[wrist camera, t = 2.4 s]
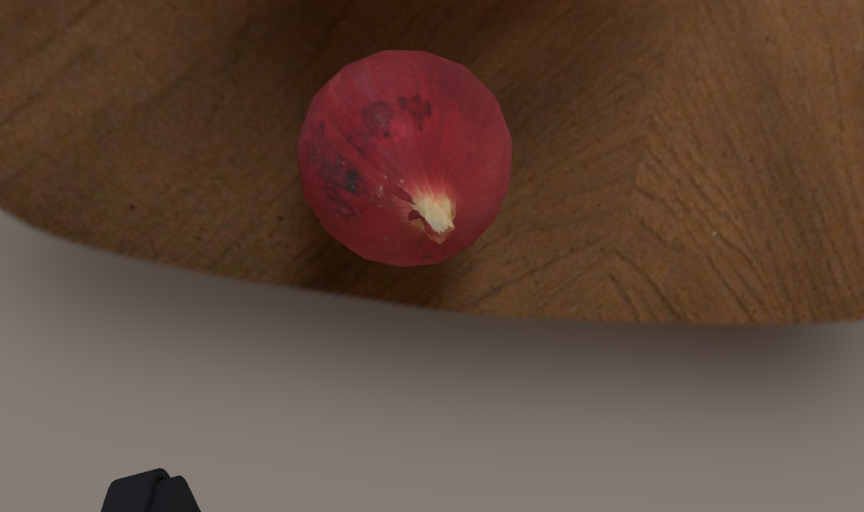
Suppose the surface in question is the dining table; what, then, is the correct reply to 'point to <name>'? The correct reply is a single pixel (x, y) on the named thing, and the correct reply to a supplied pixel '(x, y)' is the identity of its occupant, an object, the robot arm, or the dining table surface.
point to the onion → (405, 157)
